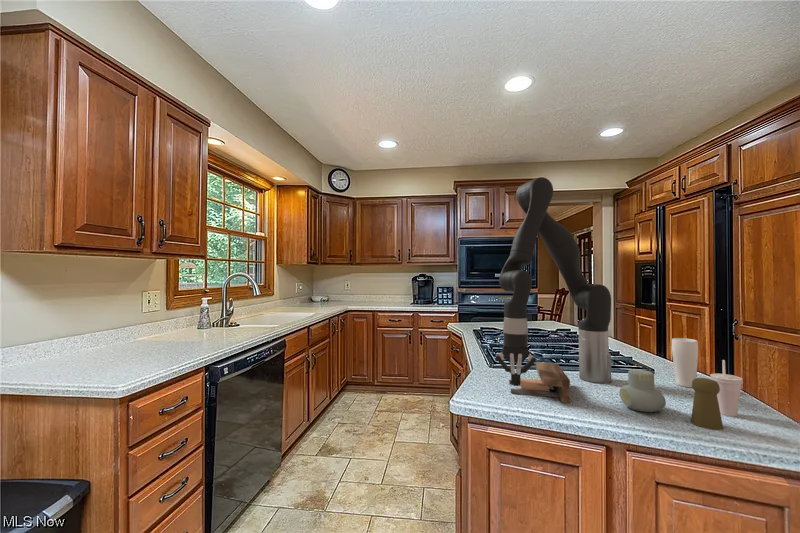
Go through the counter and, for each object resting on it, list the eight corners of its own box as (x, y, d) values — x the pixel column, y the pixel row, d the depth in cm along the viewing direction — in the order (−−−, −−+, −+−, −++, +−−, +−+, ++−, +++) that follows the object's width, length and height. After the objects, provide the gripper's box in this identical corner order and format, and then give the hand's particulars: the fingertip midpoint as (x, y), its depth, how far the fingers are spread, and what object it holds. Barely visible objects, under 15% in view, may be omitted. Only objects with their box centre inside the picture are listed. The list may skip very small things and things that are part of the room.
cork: (729, 430, 83) (728, 383, 83) (700, 428, 84) (698, 382, 84) (712, 420, 89) (711, 376, 89) (685, 418, 90) (684, 374, 90)
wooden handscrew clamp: (557, 382, 121) (557, 363, 121) (570, 403, 101) (569, 380, 102) (508, 379, 125) (508, 360, 125) (511, 398, 105) (511, 376, 106)
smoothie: (704, 409, 96) (702, 357, 96) (726, 408, 96) (724, 356, 97) (728, 419, 89) (726, 363, 90) (751, 418, 90) (749, 362, 90)
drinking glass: (699, 385, 117) (698, 339, 117) (698, 390, 112) (697, 342, 112) (674, 381, 121) (672, 337, 122) (671, 385, 116) (670, 339, 117)
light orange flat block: (546, 387, 115) (546, 380, 115) (549, 394, 109) (549, 386, 109) (520, 385, 117) (520, 378, 117) (521, 392, 111) (521, 384, 111)
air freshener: (670, 417, 91) (669, 378, 91) (634, 415, 92) (633, 376, 92) (648, 402, 102) (647, 367, 102) (616, 400, 103) (615, 366, 103)
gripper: (535, 330, 117) (536, 383, 117) (494, 329, 121) (494, 380, 120) (538, 334, 110) (538, 390, 109) (494, 332, 113) (494, 387, 113)
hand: (515, 385), depth 115 cm, fingers closed
